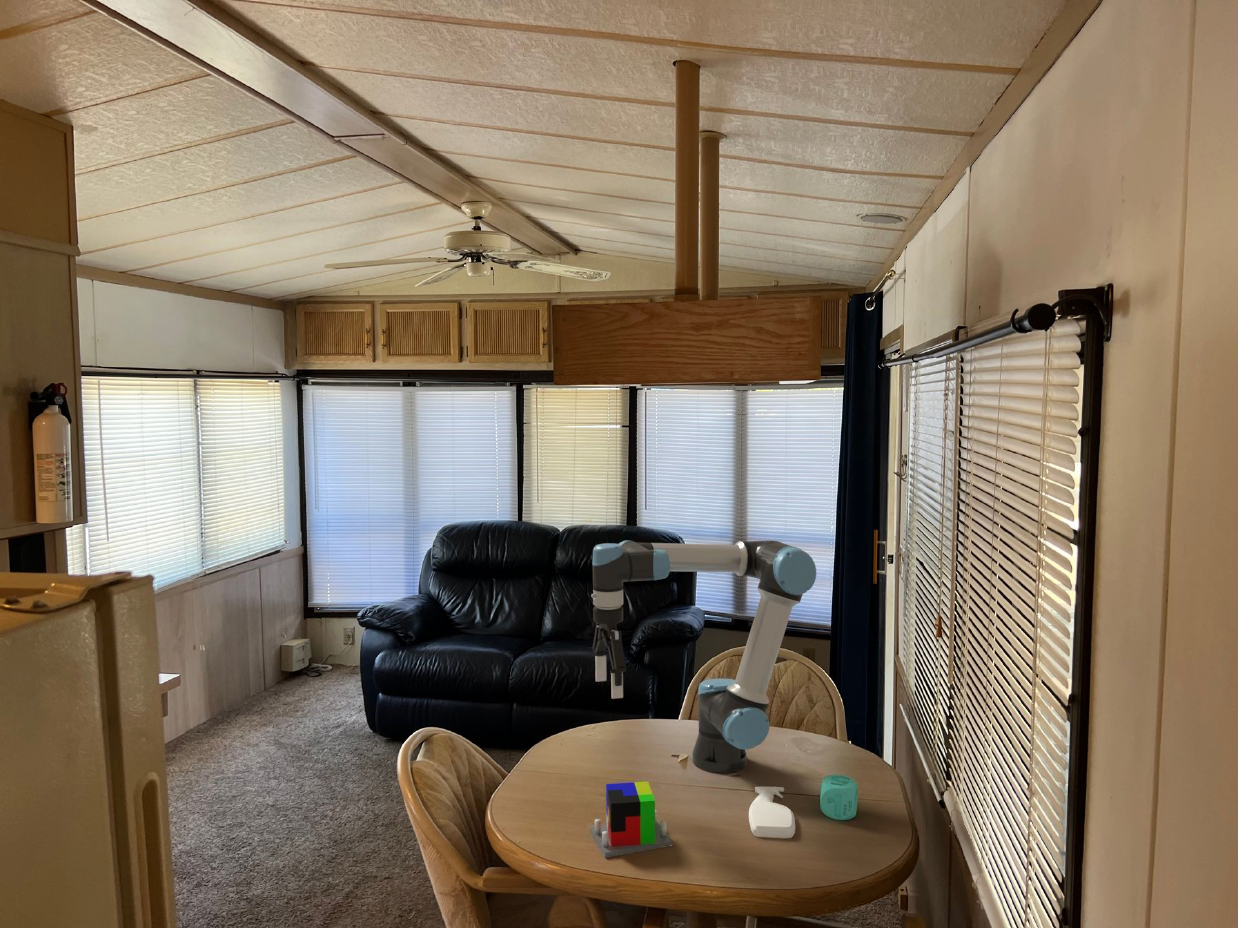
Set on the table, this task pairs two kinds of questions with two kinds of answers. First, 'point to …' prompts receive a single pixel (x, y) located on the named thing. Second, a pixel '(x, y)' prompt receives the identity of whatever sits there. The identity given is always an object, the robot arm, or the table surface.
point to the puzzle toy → (630, 814)
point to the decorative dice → (839, 797)
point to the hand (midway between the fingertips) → (608, 689)
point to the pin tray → (604, 845)
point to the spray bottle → (770, 815)
